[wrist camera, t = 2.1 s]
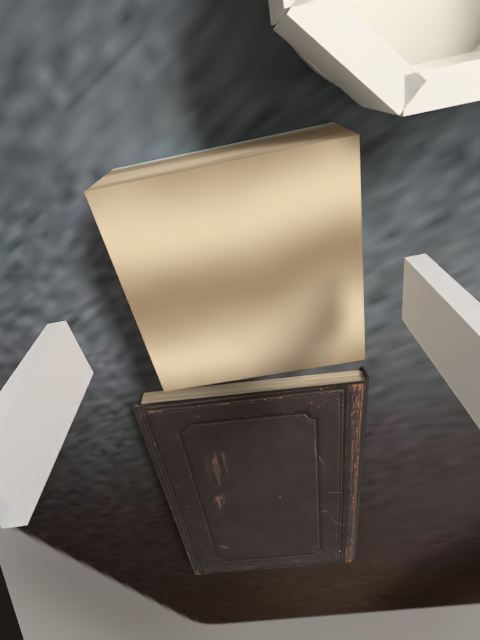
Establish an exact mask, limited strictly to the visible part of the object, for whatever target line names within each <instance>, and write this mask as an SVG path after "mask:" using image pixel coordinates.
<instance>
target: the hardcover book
mask: <svg viewBox="0 0 480 640" xmlns="http://www.w3.org/2000/svg"><path fill="white" fill-rule="evenodd" d="M368 384H369V377H368V374H367V372H366V370H365V369H364V367H361V370H356V371H346V372H336V373H327V374H317V375H308V376H298V377H289V378H279V379H269V380H260V381H250V382H241V383H231V384H222V385H212V386H203V387H193V388H184V389H177V390H171V391H155V392H146V393H144V394H143V398H142V402H141V404H137V405H133V407H132V408H133V411H134V414H135V416H136V419H137V421H138V424H139V427H140V429H141V432H142V435H143V437H144V440H145V443H146V445H147V448H148V451H149V453H150V456H151V459H152V461H153V464H154V467H155V469H156V472H157V474H158V477H159V480H160V482H161V485H162V488H163V490H164V493H165V496H166V498H167V501H168V504H169V506H170V509H171V512H172V514H173V517H174V520H175V522H176V525H177V527H178V530H179V533H180V535H181V538H182V541H183V543H184V546H185V549H186V551H187V554H188V557H189V559H190V562H191V565H192V567H193V570H194V573H195V575H199V574H211V573H223V572H235V571H247V570H260V569H272V568H284V567H296V566H308V565H321V564H333V563H345V562H352V561H353V560H354V559H355V557H356V549H357V536H358V522H359V508H360V494H361V481H362V467H363V453H364V439H365V426H366V412H367V398H368Z"/></svg>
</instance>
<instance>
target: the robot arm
mask: <svg viewBox="0 0 480 640" xmlns="http://www.w3.org/2000/svg"><path fill="white" fill-rule="evenodd" d="M402 320H403V322H404V323H405V325H406V326H407V327H408V329H409V330H410V332H411V333H412V334H413V336H414V337H415V339H416V340H417V341H418V343H419V344H420V346H421V347H422V348H423V350H424V351H425V353H426V354H427V356H428V357H429V358H430V360H431V361H432V363H433V364H434V365H435V367H436V368H437V370H438V371H439V372H440V374H441V375H442V377H443V378H444V379H445V381H446V382H447V384H448V385H449V386H450V388H451V389H452V391H453V392H454V394H455V395H456V396H457V398H458V399H459V401H460V402H461V403H462V405H463V406H464V408H465V409H466V410H467V412H468V413H469V415H470V416H471V417H472V419H473V420H474V422H475V423H476V424H477V426H478V427H479V429H480V303H479V302H478V301H477V300H476V299H475V298H474V297H473V296H472V295H471V294H469V293H468V292H467V291H466V290H465V289H464V288H463V287H462V286H461V285H460V284H458V283H457V282H456V281H455V280H454V279H453V278H452V277H451V276H450V275H449V274H447V273H446V272H445V271H444V270H443V269H442V268H441V267H440V266H439V265H438V264H437V263H435V262H434V261H433V260H432V259H431V258H430V257H429V256H428V255H427V254H421V255H415V256H410V257H405V258H404V279H403V302H402ZM92 375H93V371H92V369H91V368H90V366H89V364H88V362H87V360H86V358H85V356H84V354H83V352H82V350H81V349H80V347H79V345H78V343H77V341H76V339H75V337H74V335H73V333H72V332H71V330H70V328H69V326H68V324H67V322H66V321H62V322H56V323H51V324H47V325H46V327H45V328H44V330H43V331H42V333H41V334H40V335H39V337H38V338H37V340H36V341H35V343H34V344H33V345H32V347H31V348H30V350H29V351H28V353H27V354H26V355H25V357H24V358H23V360H22V361H21V363H20V364H19V365H18V367H17V368H16V370H15V371H14V373H13V374H12V375H11V377H10V378H9V380H8V381H7V383H6V384H5V385H4V387H3V388H2V390H1V391H0V527H1V528H2V529H5V528H12V527H19V526H26V525H28V523H29V520H30V518H31V516H32V514H33V511H34V509H35V507H36V504H37V502H38V500H39V497H40V495H41V493H42V490H43V488H44V486H45V484H46V481H47V479H48V477H49V474H50V472H51V470H52V467H53V465H54V463H55V461H56V458H57V456H58V454H59V451H60V449H61V447H62V444H63V442H64V440H65V437H66V435H67V433H68V431H69V428H70V426H71V424H72V421H73V419H74V417H75V414H76V412H77V410H78V408H79V405H80V403H81V401H82V398H83V396H84V394H85V391H86V389H87V387H88V385H89V382H90V380H91V378H92ZM0 640H23V636H22V633H21V630H20V627H19V624H18V620H17V617H16V614H15V611H14V608H13V605H12V602H11V598H10V595H9V592H8V589H7V586H6V582H5V579H4V576H3V573H2V569H1V566H0Z"/></svg>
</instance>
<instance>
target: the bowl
mask: <svg viewBox="0 0 480 640" xmlns="http://www.w3.org/2000/svg"><path fill="white" fill-rule="evenodd" d="M268 4H269V12H270V20H271V25H275V24H276V26H275V27H274V29H273V30H274V31H275V32H276V33H278V34H279V35H280V36H281V37H282V38H283V39H284V40H286V41H287V42H288V43H289V44H290V45H291V46H292V47H293V49H294V50H295V51H296V53H297V54H298V55H299V57H300V58H301V59H302V60H303V61H304V62H305V63H306V64H307V65H308V66H309V67H310V68H311V69H312V70H313V71H314V72H316V73H317V74H318V75H320V76H321V77H323V78H324V79H325V80H327V81H328V82H330V83H332V84H334V85H336V86H338V87H339V88H341V89H342V90H343V91H344V92H345V93H346V94H347V95H349V96H350V97H351V98H352V99H353V100H354V101H356V102H357V103H358V104H359V105H360V106H361V107H365V108H369V109H373V110H378V111H382V112H386V113H390V114H395V115H399V116H403V117H404V116H409V115H413V114H418V113H423V112H428V111H432V110H437V109H442V108H446V107H451V106H456V105H461V104H465V103H470V102H475V101H480V0H268Z"/></svg>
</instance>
